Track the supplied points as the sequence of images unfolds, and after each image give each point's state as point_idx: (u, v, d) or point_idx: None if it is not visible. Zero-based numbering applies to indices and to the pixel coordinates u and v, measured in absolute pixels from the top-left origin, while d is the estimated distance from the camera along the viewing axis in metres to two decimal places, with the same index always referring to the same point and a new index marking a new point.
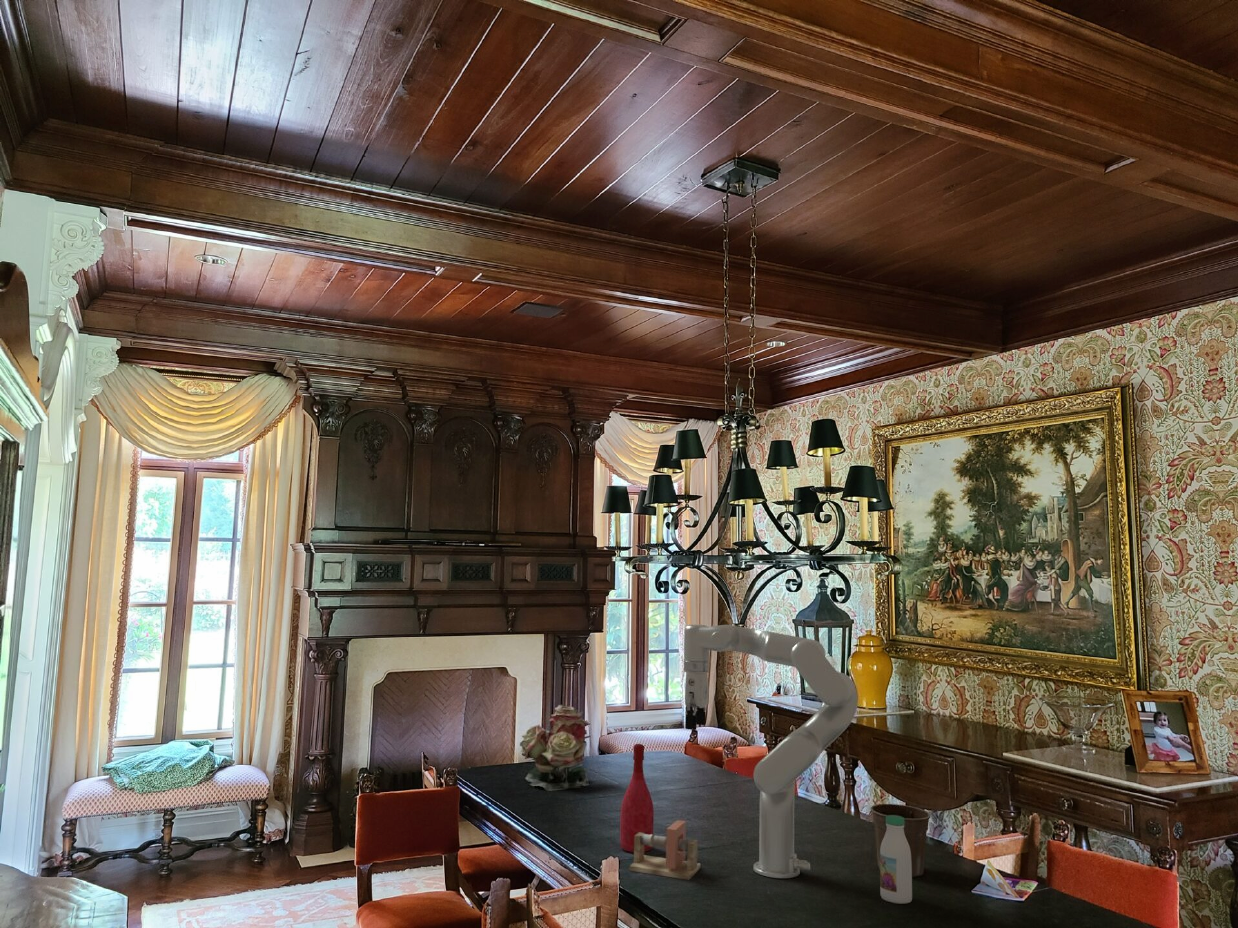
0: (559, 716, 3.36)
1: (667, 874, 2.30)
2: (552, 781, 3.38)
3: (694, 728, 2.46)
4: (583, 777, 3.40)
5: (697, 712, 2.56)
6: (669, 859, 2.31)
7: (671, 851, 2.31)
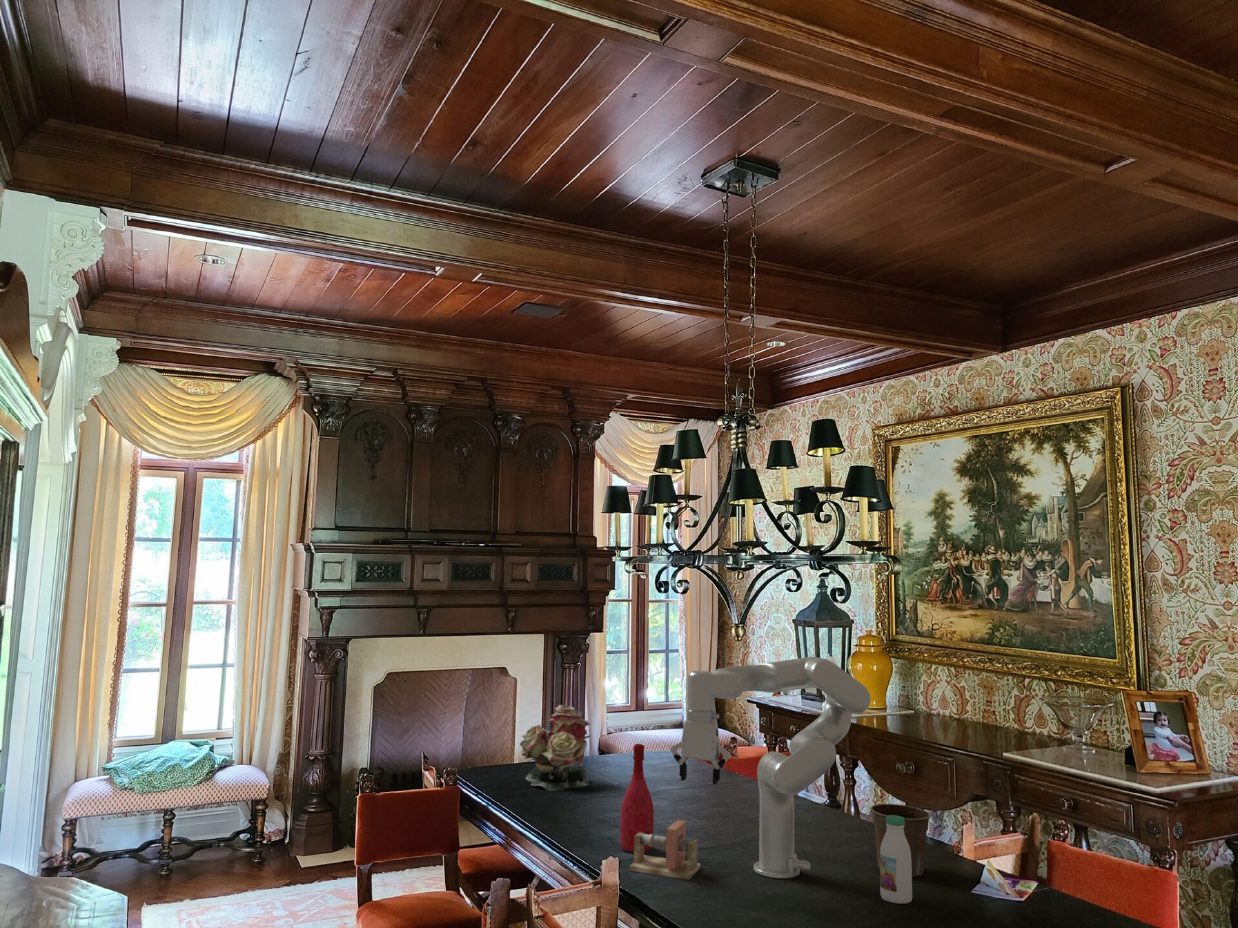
0: (559, 716, 3.36)
1: (667, 874, 2.30)
2: (552, 781, 3.38)
3: (717, 781, 2.36)
4: (583, 777, 3.40)
5: (684, 766, 2.38)
6: (669, 859, 2.31)
7: (671, 851, 2.31)
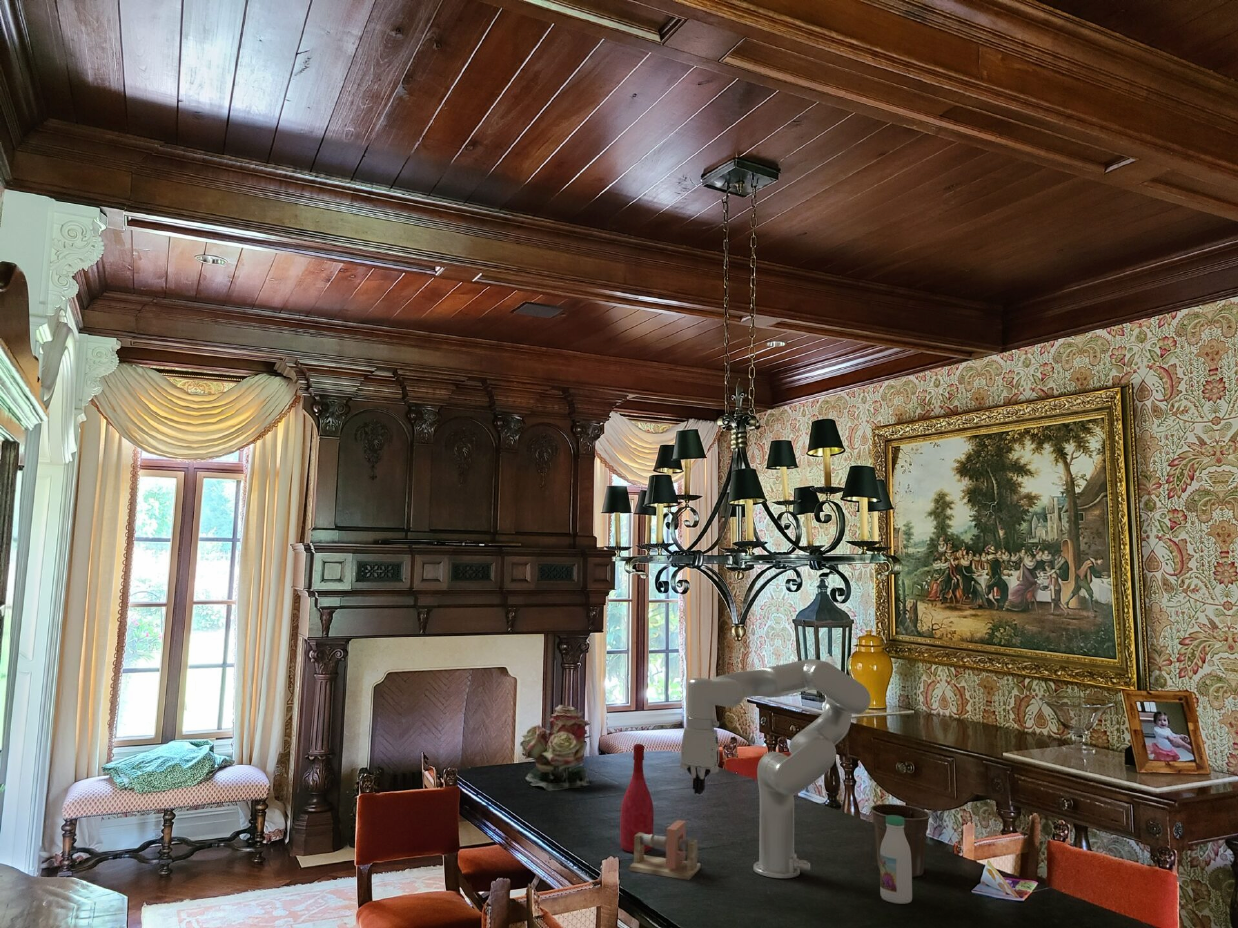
0: (559, 716, 3.36)
1: (667, 874, 2.30)
2: (552, 781, 3.38)
3: (702, 791, 2.37)
4: (583, 777, 3.40)
5: None
6: (669, 859, 2.31)
7: (671, 851, 2.31)
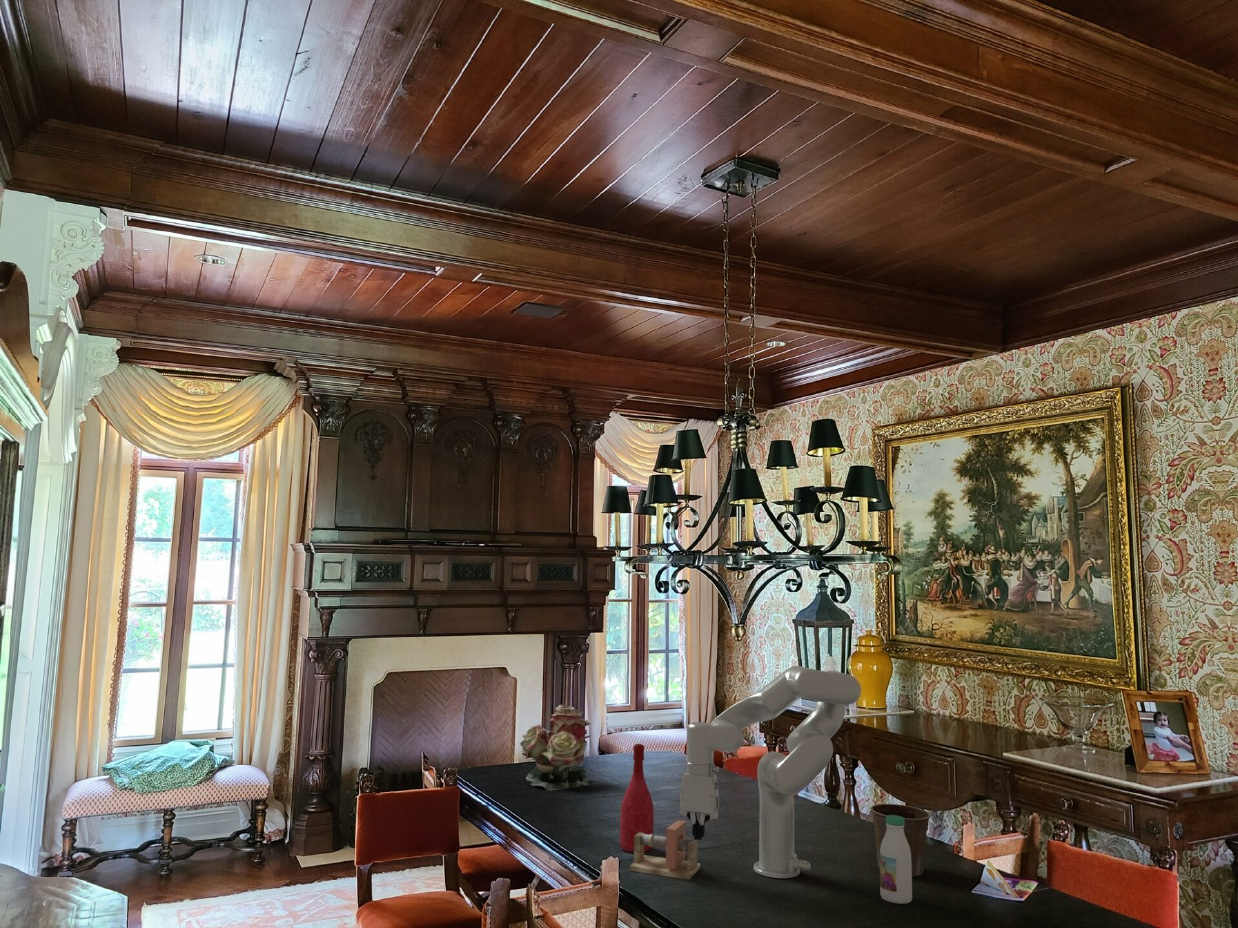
0: (559, 716, 3.37)
1: (667, 874, 2.30)
2: (552, 781, 3.38)
3: (702, 836, 2.35)
4: (583, 777, 3.41)
5: (697, 825, 2.34)
6: (669, 859, 2.31)
7: (671, 851, 2.31)
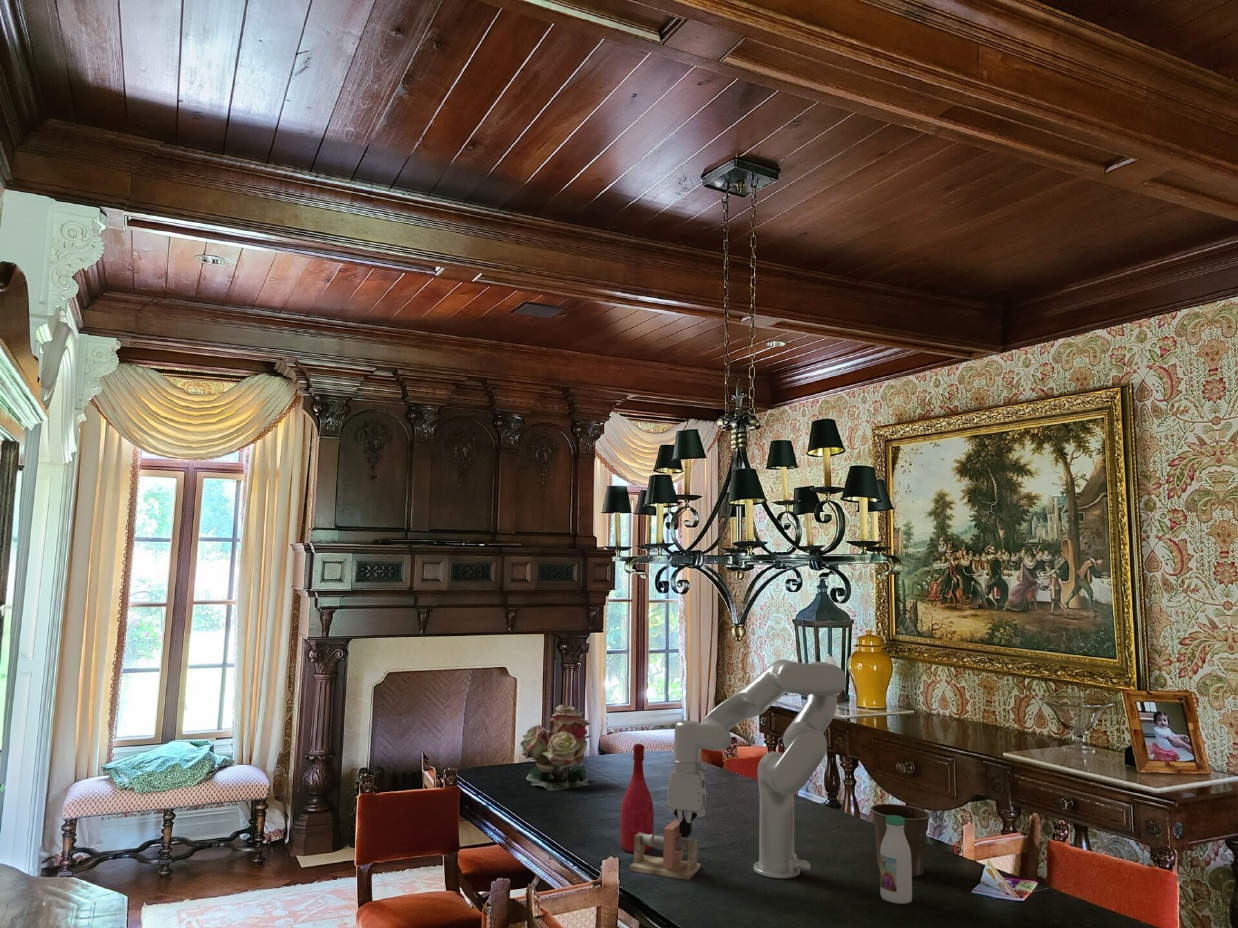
0: (560, 716, 3.37)
1: (667, 874, 2.30)
2: (553, 781, 3.38)
3: (689, 834, 2.36)
4: (583, 777, 3.41)
5: None
6: (667, 859, 2.31)
7: (668, 851, 2.31)
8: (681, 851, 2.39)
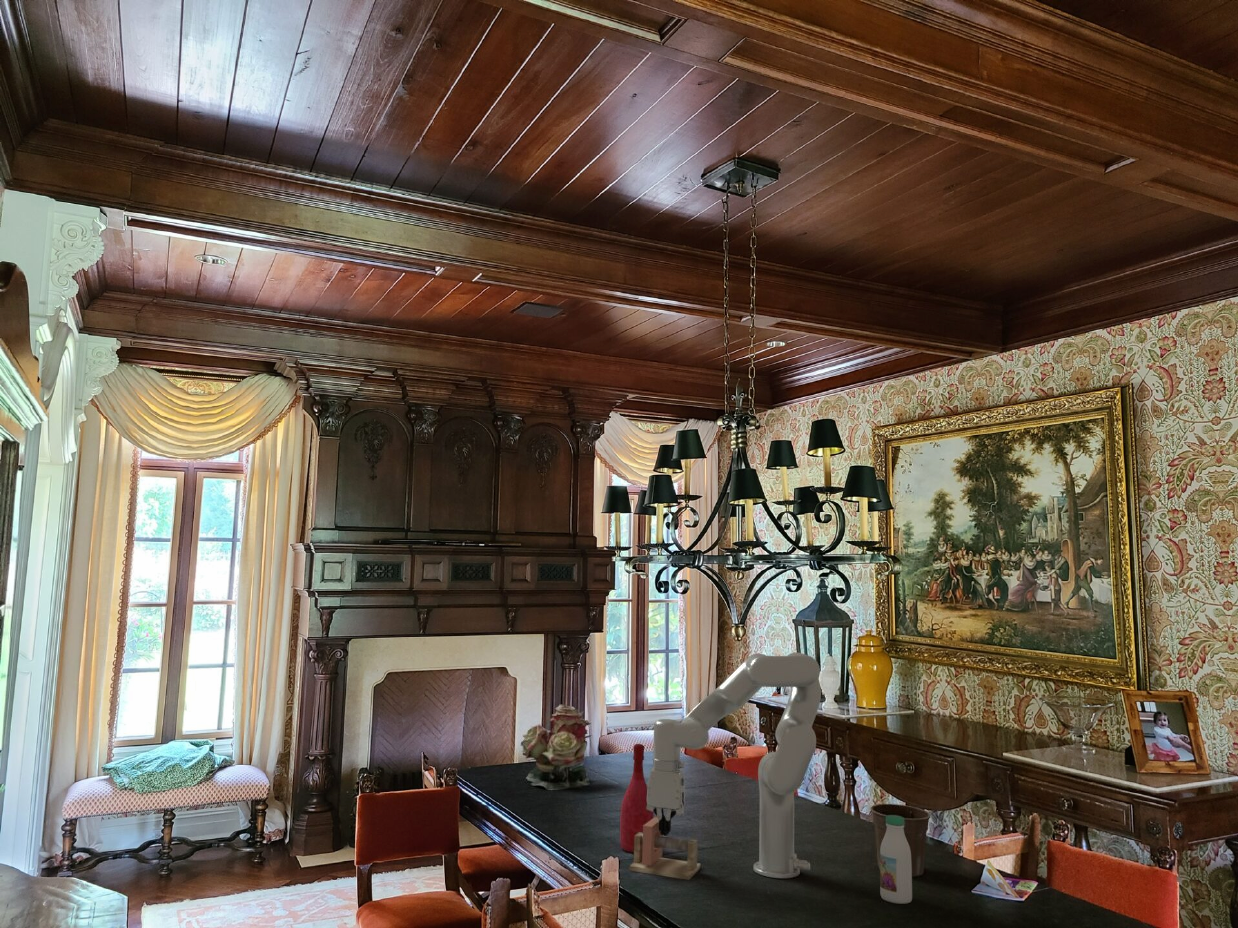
0: (560, 716, 3.37)
1: (667, 874, 2.30)
2: (553, 781, 3.39)
3: (668, 832, 2.38)
4: (584, 777, 3.41)
5: None
6: (646, 855, 2.33)
7: (647, 848, 2.34)
8: (660, 848, 2.41)
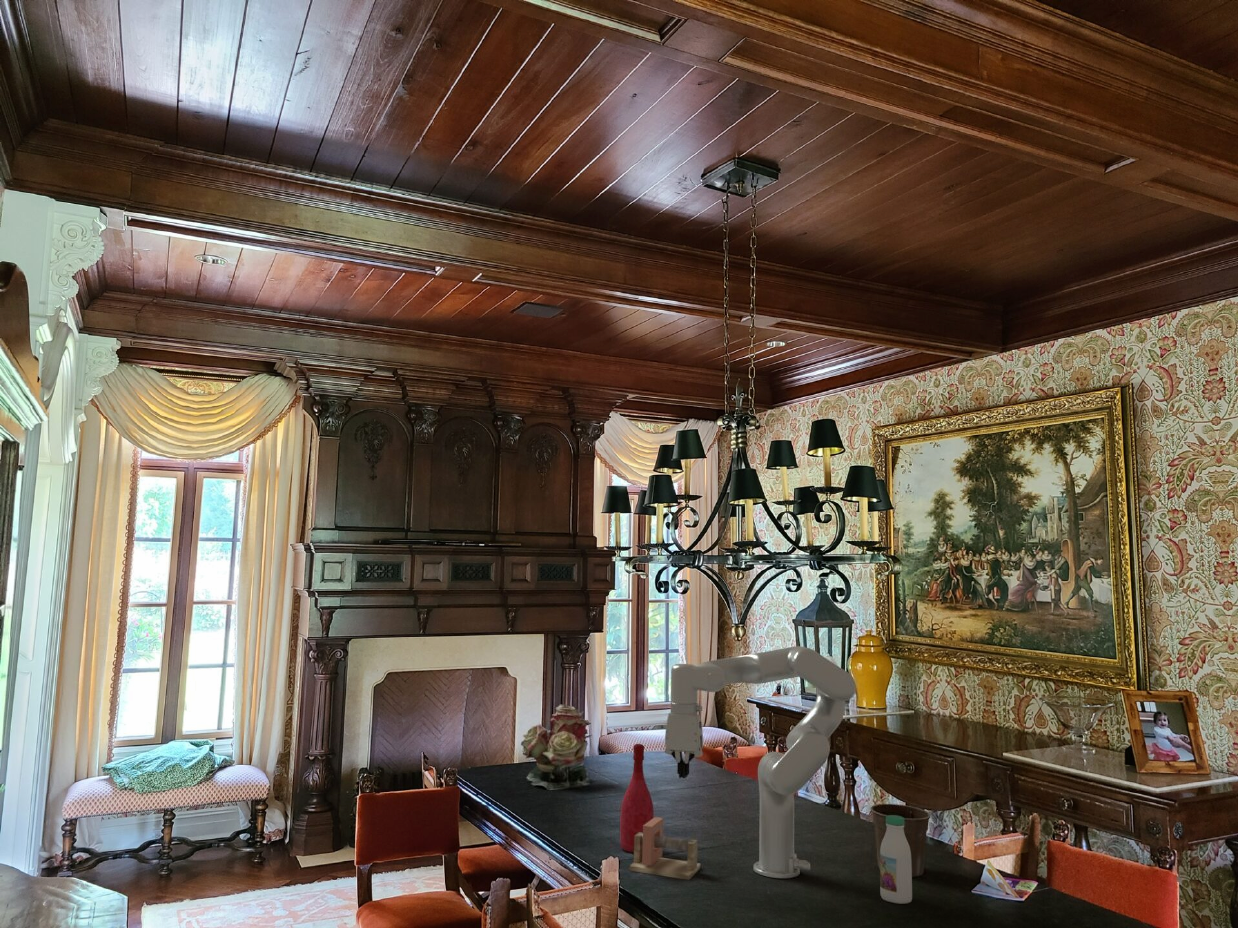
0: (560, 716, 3.37)
1: (667, 874, 2.30)
2: (553, 780, 3.39)
3: (687, 775, 2.39)
4: (584, 776, 3.41)
5: None
6: (646, 855, 2.33)
7: (647, 848, 2.34)
8: (660, 848, 2.41)
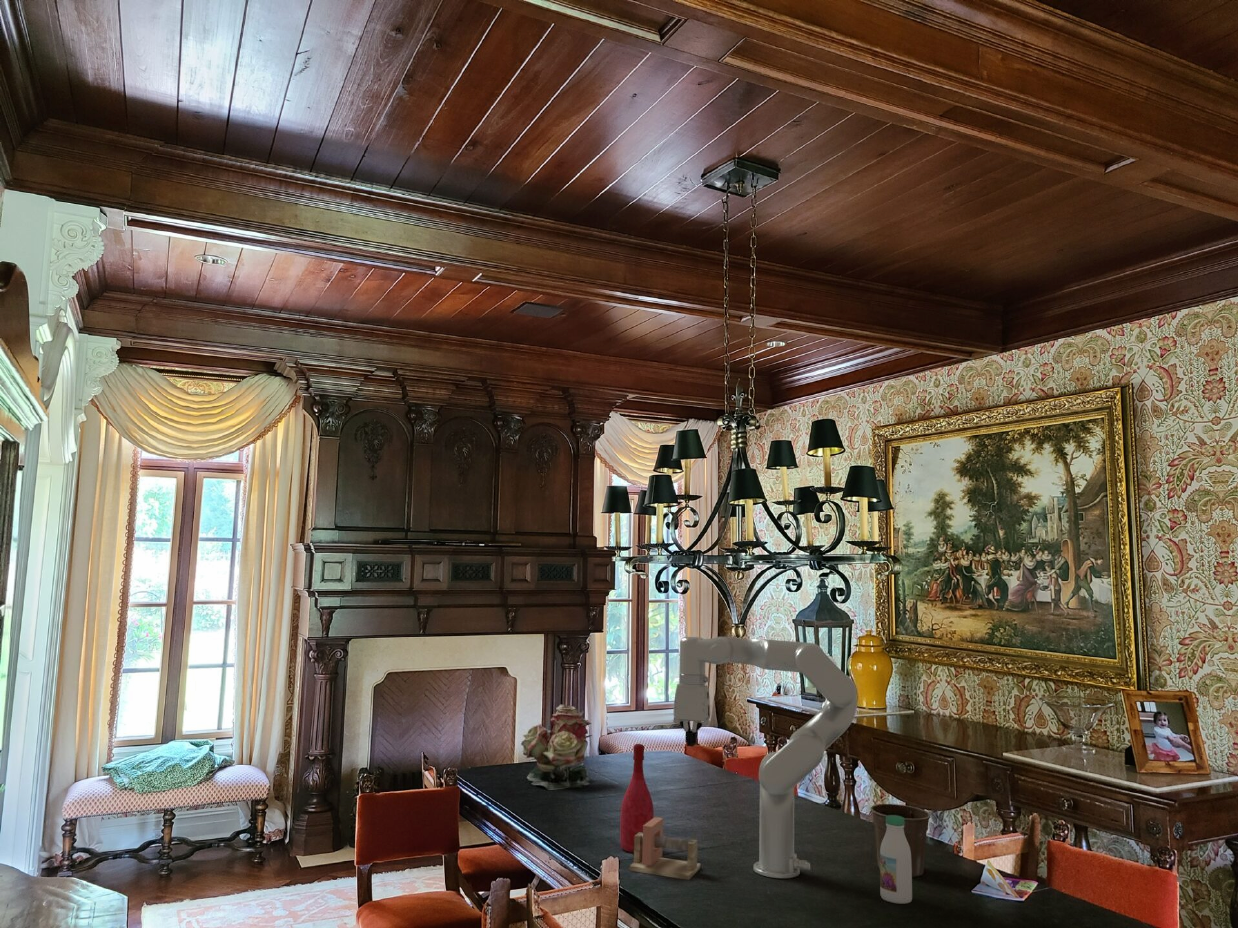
0: (560, 715, 3.38)
1: (667, 874, 2.30)
2: (553, 780, 3.39)
3: (694, 743, 2.47)
4: (584, 776, 3.41)
5: None
6: (646, 855, 2.33)
7: (647, 848, 2.34)
8: (660, 848, 2.41)
